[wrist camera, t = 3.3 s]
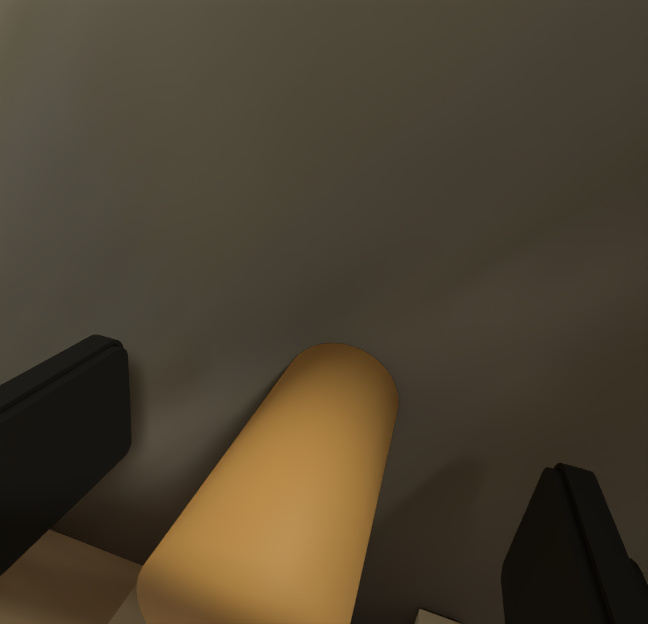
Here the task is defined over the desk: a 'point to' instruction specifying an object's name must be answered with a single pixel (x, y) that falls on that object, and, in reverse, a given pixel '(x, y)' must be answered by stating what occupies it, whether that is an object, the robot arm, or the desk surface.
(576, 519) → the robot arm
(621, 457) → the desk surface
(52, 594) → the plain block
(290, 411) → the block
